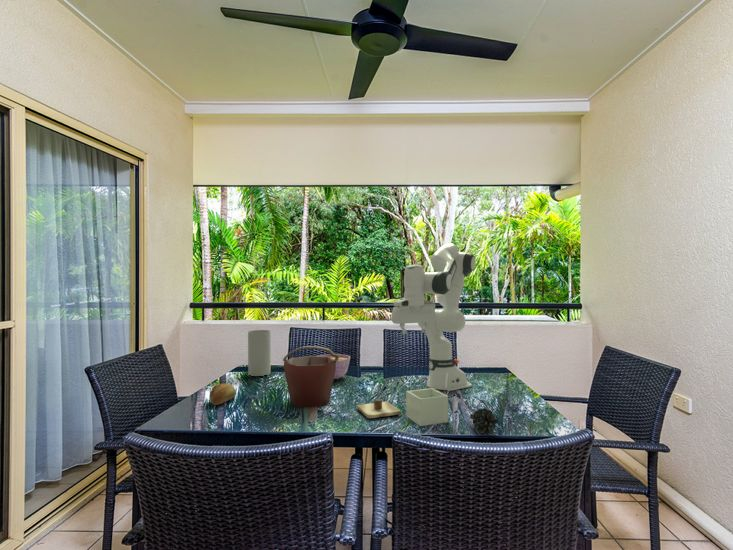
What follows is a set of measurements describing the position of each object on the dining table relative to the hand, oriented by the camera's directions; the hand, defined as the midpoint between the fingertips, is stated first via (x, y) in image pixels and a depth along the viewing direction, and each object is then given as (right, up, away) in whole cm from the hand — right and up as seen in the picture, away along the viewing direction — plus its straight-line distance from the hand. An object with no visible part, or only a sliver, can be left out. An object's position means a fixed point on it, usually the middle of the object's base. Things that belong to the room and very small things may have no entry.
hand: (414, 333), depth 179 cm
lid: (-16, -31, -10) cm, 36 cm away
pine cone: (+22, -31, -29) cm, 48 cm away
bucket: (-46, -32, +4) cm, 56 cm away
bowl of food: (-40, -32, +48) cm, 70 cm away
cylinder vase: (-83, -32, +58) cm, 106 cm away
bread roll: (-86, -32, +6) cm, 92 cm away
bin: (+3, -31, -18) cm, 36 cm away
